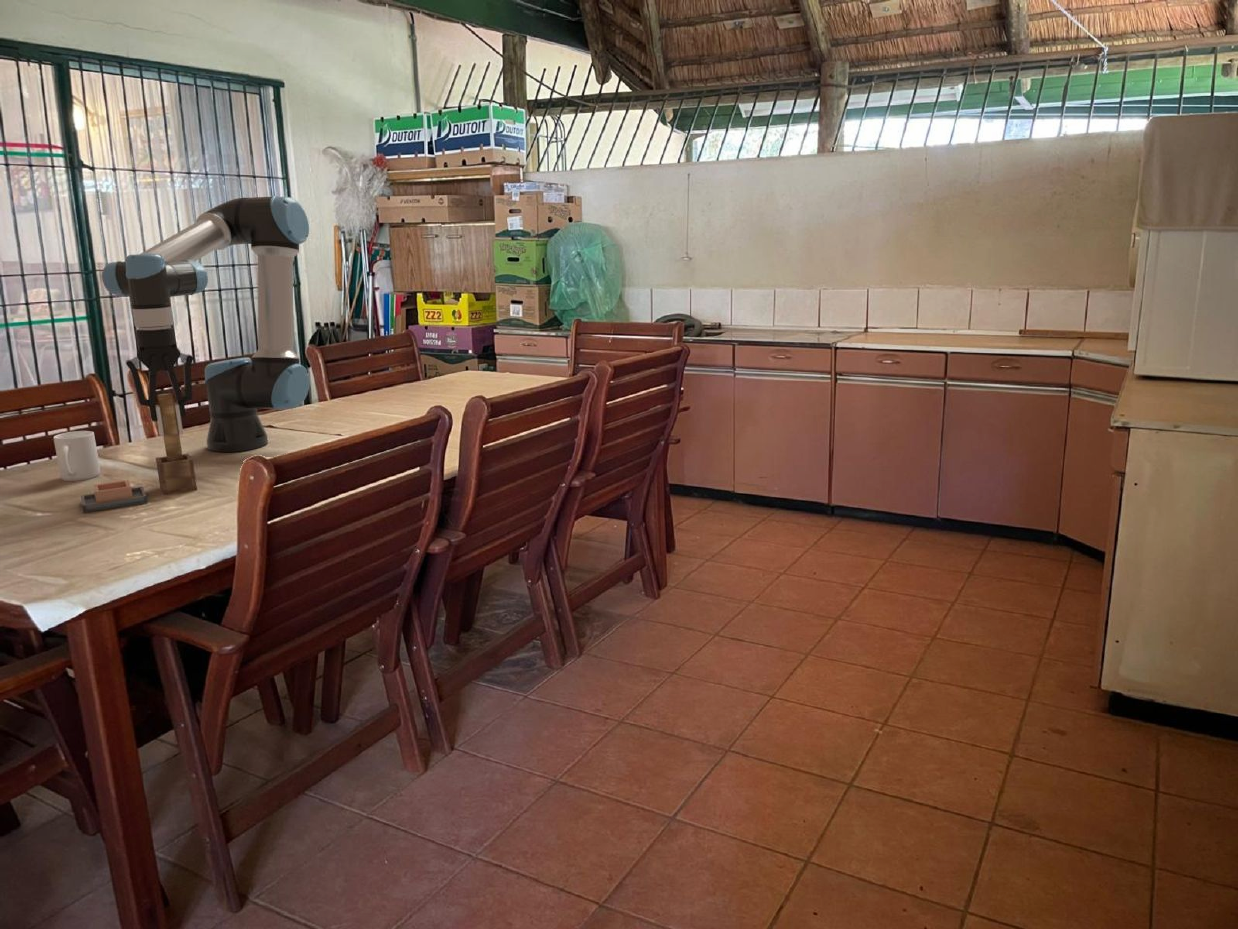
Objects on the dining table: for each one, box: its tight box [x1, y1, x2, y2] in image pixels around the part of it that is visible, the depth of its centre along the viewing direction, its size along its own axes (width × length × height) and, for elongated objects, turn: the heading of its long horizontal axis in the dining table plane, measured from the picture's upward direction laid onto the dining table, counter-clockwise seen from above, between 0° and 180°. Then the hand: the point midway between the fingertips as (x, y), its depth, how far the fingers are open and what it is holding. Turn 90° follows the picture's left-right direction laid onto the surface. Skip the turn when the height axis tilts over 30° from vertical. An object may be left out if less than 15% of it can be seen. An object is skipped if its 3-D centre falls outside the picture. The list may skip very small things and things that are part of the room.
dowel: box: [156, 393, 183, 462], centre depth 204 cm, size 3×3×17 cm
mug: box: [53, 430, 101, 482], centre depth 217 cm, size 12×8×10 cm
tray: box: [80, 486, 149, 514], centre depth 197 cm, size 12×9×2 cm
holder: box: [92, 479, 133, 503], centre depth 197 cm, size 7×7×3 cm
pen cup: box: [155, 453, 198, 495], centre depth 207 cm, size 7×7×7 cm
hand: (171, 433), depth 204 cm, fingers closed on dowel, 3 cm apart
